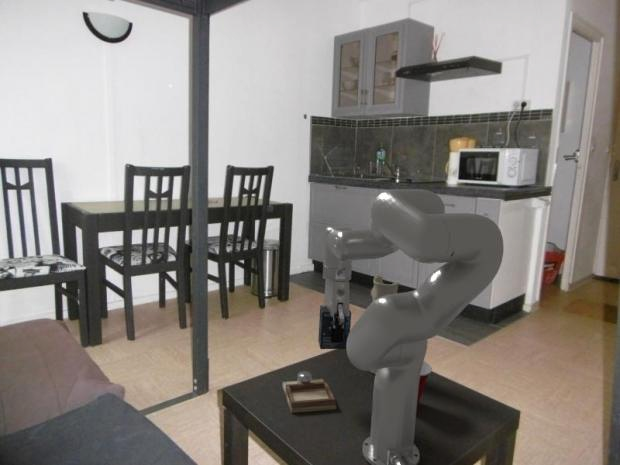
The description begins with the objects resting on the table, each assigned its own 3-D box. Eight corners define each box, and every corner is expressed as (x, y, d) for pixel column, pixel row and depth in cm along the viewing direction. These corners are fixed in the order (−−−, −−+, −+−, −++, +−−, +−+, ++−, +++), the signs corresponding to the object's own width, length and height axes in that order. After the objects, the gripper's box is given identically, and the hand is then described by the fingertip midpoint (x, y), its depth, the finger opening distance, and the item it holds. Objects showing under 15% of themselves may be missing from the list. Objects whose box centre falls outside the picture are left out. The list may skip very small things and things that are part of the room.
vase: (361, 366, 144) (368, 275, 139) (384, 362, 147) (391, 273, 142) (375, 378, 136) (382, 282, 131) (399, 374, 139) (407, 280, 134)
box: (320, 350, 119) (322, 311, 118) (318, 341, 125) (319, 304, 123) (349, 350, 120) (351, 312, 118) (345, 341, 126) (348, 305, 124)
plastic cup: (429, 418, 116) (433, 375, 114) (387, 412, 118) (390, 369, 116) (427, 397, 126) (431, 357, 124) (388, 391, 128) (391, 352, 126)
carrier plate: (336, 409, 118) (336, 394, 118) (291, 412, 116) (291, 398, 115) (322, 382, 132) (323, 369, 132) (282, 385, 130) (282, 372, 129)
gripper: (359, 281, 112) (355, 349, 114) (342, 264, 128) (339, 325, 131) (330, 281, 110) (327, 351, 113) (316, 265, 127) (314, 326, 130)
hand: (333, 336), depth 122 cm, fingers closed on box, 5 cm apart
